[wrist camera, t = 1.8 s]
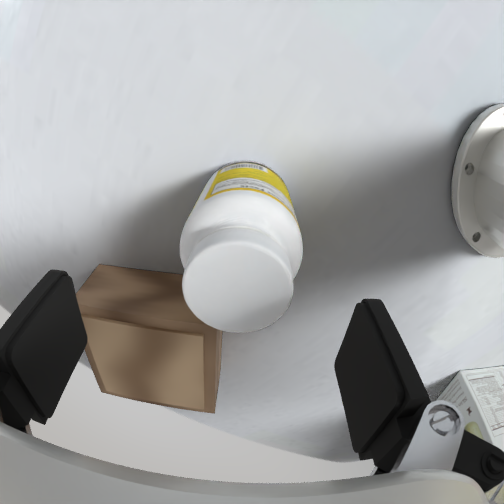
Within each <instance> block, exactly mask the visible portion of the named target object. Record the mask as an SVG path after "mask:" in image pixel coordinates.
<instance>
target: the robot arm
mask: <svg viewBox="0 0 504 504" xmlns="http://www.w3.org/2000/svg"><path fill="white" fill-rule="evenodd" d="M452 207H453V214H454V217H455V221H456V224H457V227H458V229H459V231H460V233H461V235H462V237H463V238H464V239H465V240H466V241H467V243H468V244H469V245H470V246H471V247H472V248H474V249H475V250H476V251H477V252H478V253H480V254H482V255H484V256H486V257H492V258H499V257H504V104H497V105H494V106H492V107H489V108H488V109H486V110H485V111H484V112H482V113H481V114H480V115H479V116H478V117H477V118H476V119H475V120H474V121H473V123H472V124H471V125H470V127H469V129H468V130H467V132H466V134H465V135H464V137H463V140H462V142H461V145H460V147H459V149H458V152H457V156H456V160H455V164H454V169H453V176H452ZM87 340H88V338H87V333H86V330H85V326H84V323H83V320H82V316H81V313H80V309H79V305H78V301H77V298H76V294H75V290H74V285H73V281H72V278H71V277H70V276H68V274H67V272H65V271H60V270H50V271H49V272H48V273H47V274H46V275H45V276H44V277H43V278H42V279H41V280H40V282H39V283H38V284H37V285H36V286H35V287H34V288H33V290H32V291H31V292H30V293H29V294H28V295H27V297H26V298H25V299H24V300H23V301H22V302H21V304H20V305H19V306H18V307H17V309H16V310H15V311H14V312H13V313H12V315H11V316H10V317H9V319H8V320H7V321H6V322H5V324H4V325H3V326H2V328H1V329H0V504H504V452H503V451H502V450H501V449H500V448H498V447H496V446H494V445H492V444H491V443H489V442H487V441H485V440H483V439H481V438H479V437H477V436H476V435H474V434H472V433H470V432H468V431H466V430H465V429H464V428H465V421H464V417H463V415H462V413H461V411H460V410H459V409H458V408H457V407H456V406H455V405H453V404H452V403H450V402H447V401H444V400H437V401H433V402H431V401H430V399H429V397H428V394H427V391H426V389H425V387H424V385H423V382H422V380H421V378H420V376H419V374H418V372H417V369H416V367H415V365H414V363H413V361H412V359H411V357H410V355H409V353H408V351H407V349H406V347H405V344H404V342H403V340H402V338H401V336H400V334H399V333H398V331H397V329H396V327H395V325H394V323H393V321H392V319H391V317H390V315H389V313H388V311H387V309H386V308H385V306H384V304H383V302H382V301H381V300H380V299H363V300H362V301H361V303H357V304H356V307H355V309H354V312H353V315H352V318H351V320H350V323H349V326H348V329H347V331H346V334H345V337H344V339H343V342H342V344H341V347H340V349H339V352H338V355H337V357H336V360H335V373H336V377H337V381H338V385H339V389H340V393H341V397H342V402H343V406H344V410H345V414H346V419H347V423H348V428H349V432H350V437H351V441H352V446H353V450H354V452H356V453H359V458H360V460H366V459H373V460H374V465H375V467H374V469H373V471H372V473H371V474H370V476H366V477H359V478H351V479H342V480H331V481H319V482H306V483H305V482H304V483H269V484H268V483H236V482H222V481H221V482H220V481H210V480H200V479H192V478H184V477H177V476H171V475H164V474H159V473H153V472H148V471H143V470H139V469H134V468H130V467H125V466H121V465H117V464H113V463H109V462H106V461H102V460H99V459H95V458H92V457H89V456H85V455H82V454H79V453H76V452H73V451H70V450H67V449H64V448H62V447H59V446H56V445H54V444H51V443H48V442H46V441H43V440H41V439H38V438H36V437H34V436H33V435H32V432H31V429H30V425H29V422H30V420H31V418H32V420H34V421H36V422H39V423H41V424H44V425H45V424H46V421H47V419H48V418H51V417H52V415H53V413H54V411H55V409H56V407H57V404H58V402H59V400H60V398H61V395H62V393H63V391H64V389H65V387H66V385H67V383H68V381H69V379H70V376H71V374H72V372H73V370H74V369H75V366H76V364H77V363H78V361H79V359H80V357H81V355H82V353H83V351H84V349H85V347H86V345H87Z"/></svg>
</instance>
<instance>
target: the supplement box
mask: <svg viewBox="0 0 504 504" xmlns="http://www.w3.org/2000/svg"><path fill="white" fill-rule="evenodd" d="M437 400H444V401H447V402H450V403H452V404H453V405H455V406H456V407H457V408H458V409H459V410H460V411H461V413H462V415H463V417H464V421H465V428H464V429H465V430H466V431H468V432H470V433H472V434H474V435H476V436H477V437H479V438H481V439H483V440H485V441H487V442H489V443H491V444H492V445H494V446H496V447H498V448H500V449H501V450H502V451H503V452H504V366H499V367H490V368H482V369H472V370H460V371H459V372H458V373H457V375H456V376H455V377H454V379H453V380H452V381H451V382H450V384H449V385H448V386H447V387H446V389H445V390H444V391H443V392H442V393H441V395H440V396H439V397H438V398H437V399H436V401H437Z"/></svg>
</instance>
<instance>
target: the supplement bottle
mask: <svg viewBox="0 0 504 504" xmlns="http://www.w3.org/2000/svg"><path fill="white" fill-rule="evenodd" d="M302 256H303V243H302V236H301V232H300V228H299V225H298V222H297V218H296V215H295V212H294V208H293V205H292V202H291V199H290V195H289V193H288V190H287V188H286V185H285V183H284V182H283V180H282V179H281V177H280V176H279V175H278V174H277V173H276V172H275V171H274V170H272V169H271V168H269V167H268V166H266V165H264V164H261V163H258V162H254V161H237V162H233V163H230V164H227V165H225V166H224V167H222V168H220V169H219V170H218V171H217V172H215V173H214V174H213V176H212V177H211V178H210V179H209V181H208V182H207V184H206V185H205V187H204V189H203V191H202V193H201V195H200V196H199V198H198V200H197V202H196V204H195V206H194V208H193V210H192V212H191V213H190V215H189V217H188V219H187V221H186V223H185V225H184V228H183V231H182V234H181V238H180V257H181V261H182V265H183V267H184V270H185V271H184V274H183V278H182V290H183V295H184V299H185V301H186V303H187V305H188V307H189V308H190V310H191V311H192V312H193V313H194V314H195V316H196V317H197V318H199V319H200V320H201V321H203V322H204V323H206V324H207V325H209V326H211V327H213V328H216V329H218V330H222V331H226V332H232V333H247V332H254V331H257V330H261V329H263V328H266V327H268V326H270V325H271V324H273V323H274V322H276V321H277V320H278V319H280V318H281V317H282V315H283V314H284V313H285V312H286V311H287V309H288V307H289V305H290V303H291V300H292V296H293V279H294V278H295V276H296V275H297V273H298V270H299V268H300V265H301V261H302Z"/></svg>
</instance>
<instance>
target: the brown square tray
mask: <svg viewBox="0 0 504 504" xmlns="http://www.w3.org/2000/svg"><path fill="white" fill-rule="evenodd" d="M182 278H183V275H182V274H173V273H164V272H156V271H148V270H140V269H132V268H124V267H116V266H109V265H101V264H99V265H98V266H97V268H96V269H95V270H94V271H93V273H92V274H91V275H90V276H89V278H88V279H87V280H86V282H85V283H84V284H83V285H82V287H81V288H80V289H79V291H78V292H77V293H76V298H77V301H78V305H79V309H80V313H81V316H82V320H83V323H84V326H85V330H86V333H87V338H88V340H87V345H86V347H85V352H86V355H87V357H88V360H89V363H90V365H91V368H92V370H93V373H94V375H95V377H96V380H97V383H98V385H99V387H100V390H101V392H103V393H107V394H111V395H115V396H119V397H123V398H128V399H132V400H137V401H141V402H146V403H151V404H156V405H162V406H167V407H173V408H179V409H186V410H193V411H200V412H207V413H215V407H216V399H217V391H218V384H219V376H220V369H221V348H222V330H218V329H216V328H213V327H211V326H209V325H207V324H206V323H204V322H203V321H201V320H200V319H199V318H197V317H196V316H195V314H194V313H193V312H192V311H191V310H190V308H189V307H188V305H187V303H186V301H185V299H184V295H183V290H182Z"/></svg>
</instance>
